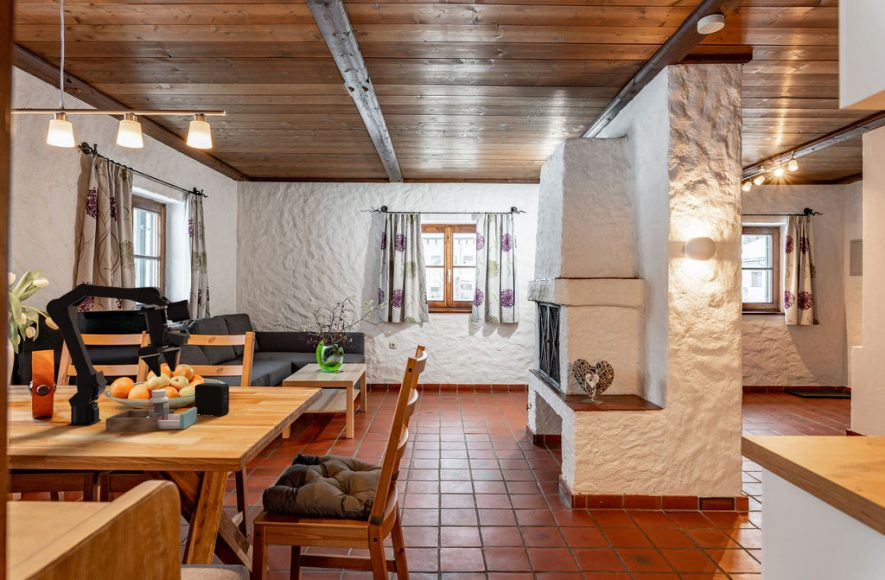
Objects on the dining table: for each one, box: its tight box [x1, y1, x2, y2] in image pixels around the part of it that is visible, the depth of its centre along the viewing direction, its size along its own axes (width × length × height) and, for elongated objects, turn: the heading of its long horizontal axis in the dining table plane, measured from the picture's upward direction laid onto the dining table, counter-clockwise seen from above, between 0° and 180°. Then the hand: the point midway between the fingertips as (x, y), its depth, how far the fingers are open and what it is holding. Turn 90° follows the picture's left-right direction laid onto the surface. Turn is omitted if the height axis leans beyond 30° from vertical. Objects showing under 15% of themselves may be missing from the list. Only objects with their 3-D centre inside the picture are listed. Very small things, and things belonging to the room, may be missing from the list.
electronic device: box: [194, 382, 230, 417], centre depth 181 cm, size 4×10×10 cm, turn 78°
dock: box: [105, 409, 175, 432], centre depth 166 cm, size 14×12×4 cm
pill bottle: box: [148, 388, 170, 420], centre depth 166 cm, size 5×5×10 cm
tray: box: [146, 406, 198, 430], centre depth 166 cm, size 13×9×4 cm
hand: (166, 374), depth 173 cm, fingers open, 9 cm apart
